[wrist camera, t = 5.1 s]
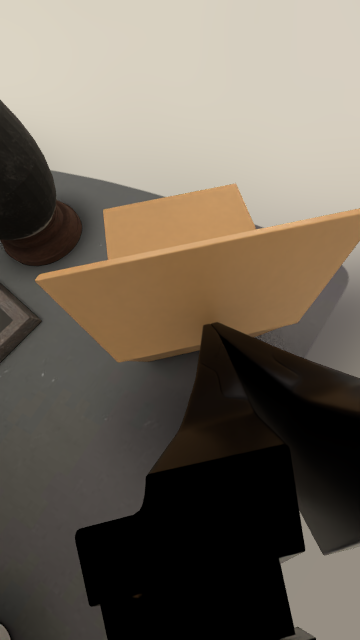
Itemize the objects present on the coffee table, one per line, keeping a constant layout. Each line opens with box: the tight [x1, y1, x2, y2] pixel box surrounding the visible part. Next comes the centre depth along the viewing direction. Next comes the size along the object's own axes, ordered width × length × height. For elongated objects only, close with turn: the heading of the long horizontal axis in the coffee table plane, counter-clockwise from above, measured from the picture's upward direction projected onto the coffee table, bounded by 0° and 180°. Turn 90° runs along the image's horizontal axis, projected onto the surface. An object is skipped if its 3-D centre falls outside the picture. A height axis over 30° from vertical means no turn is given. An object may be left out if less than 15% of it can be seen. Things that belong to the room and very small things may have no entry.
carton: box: [103, 184, 280, 362], centre depth 16 cm, size 13×12×8 cm
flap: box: [35, 208, 360, 363], centre depth 8 cm, size 6×12×1 cm
